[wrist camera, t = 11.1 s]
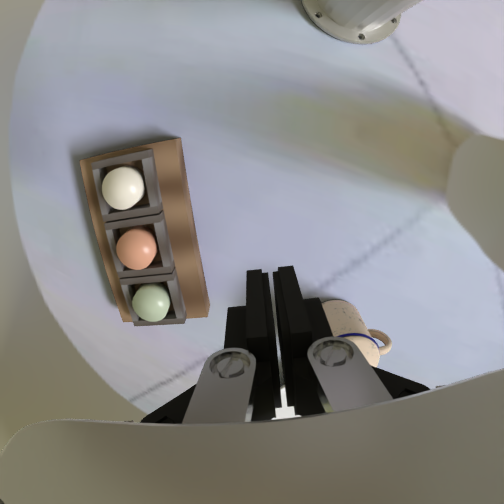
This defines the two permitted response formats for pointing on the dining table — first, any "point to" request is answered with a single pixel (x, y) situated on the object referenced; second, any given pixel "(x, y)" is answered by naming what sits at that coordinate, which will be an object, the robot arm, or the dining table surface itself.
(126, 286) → the button console
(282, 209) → the dining table surface
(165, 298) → the sage button
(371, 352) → the teacup with lid
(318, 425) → the robot arm
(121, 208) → the cream button
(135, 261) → the terracotta button
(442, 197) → the dining table surface
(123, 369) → the dining table surface
